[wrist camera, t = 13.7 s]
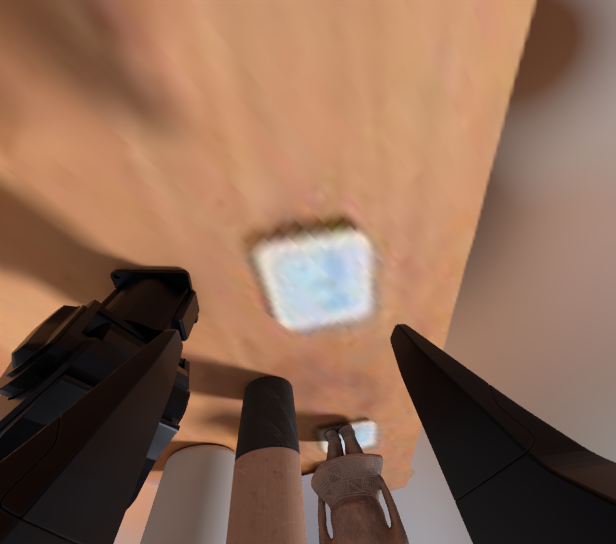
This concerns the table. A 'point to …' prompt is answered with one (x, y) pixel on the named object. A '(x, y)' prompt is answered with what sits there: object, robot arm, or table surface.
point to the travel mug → (267, 469)
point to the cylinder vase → (192, 498)
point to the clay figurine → (354, 495)
